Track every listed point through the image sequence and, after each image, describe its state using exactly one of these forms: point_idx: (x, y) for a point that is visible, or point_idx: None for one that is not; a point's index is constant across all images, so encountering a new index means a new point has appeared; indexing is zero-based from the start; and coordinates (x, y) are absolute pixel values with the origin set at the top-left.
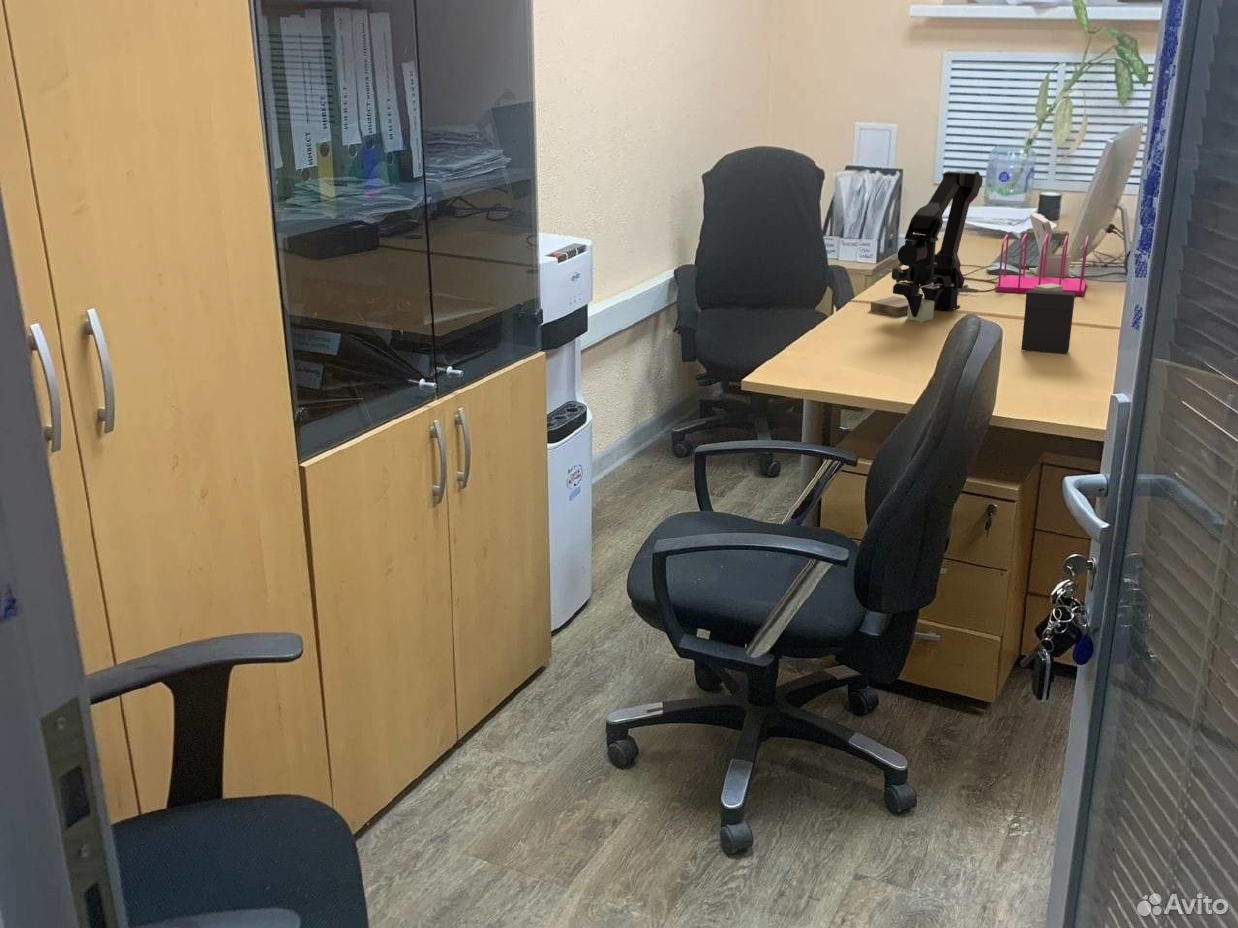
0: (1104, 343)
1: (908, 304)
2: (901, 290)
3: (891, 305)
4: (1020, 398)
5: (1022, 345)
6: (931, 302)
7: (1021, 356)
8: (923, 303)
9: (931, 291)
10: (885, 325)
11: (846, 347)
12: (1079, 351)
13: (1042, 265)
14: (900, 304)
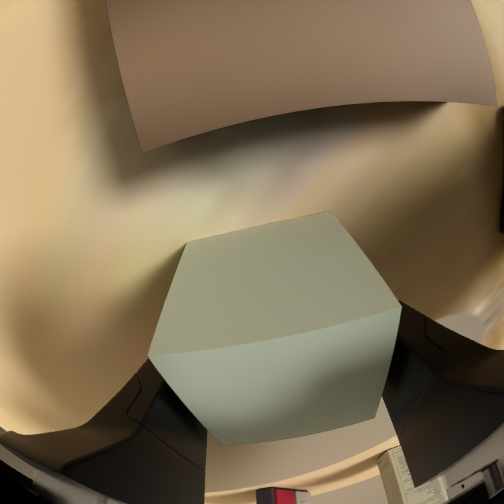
0: (376, 474)
1: (159, 330)
2: (10, 495)
3: (130, 27)
4: None
5: (256, 496)
6: (336, 424)
7: (233, 492)
8: (240, 440)
9: (430, 455)
10: (25, 289)
11: None
12: (319, 489)
13: None
14: (263, 28)
